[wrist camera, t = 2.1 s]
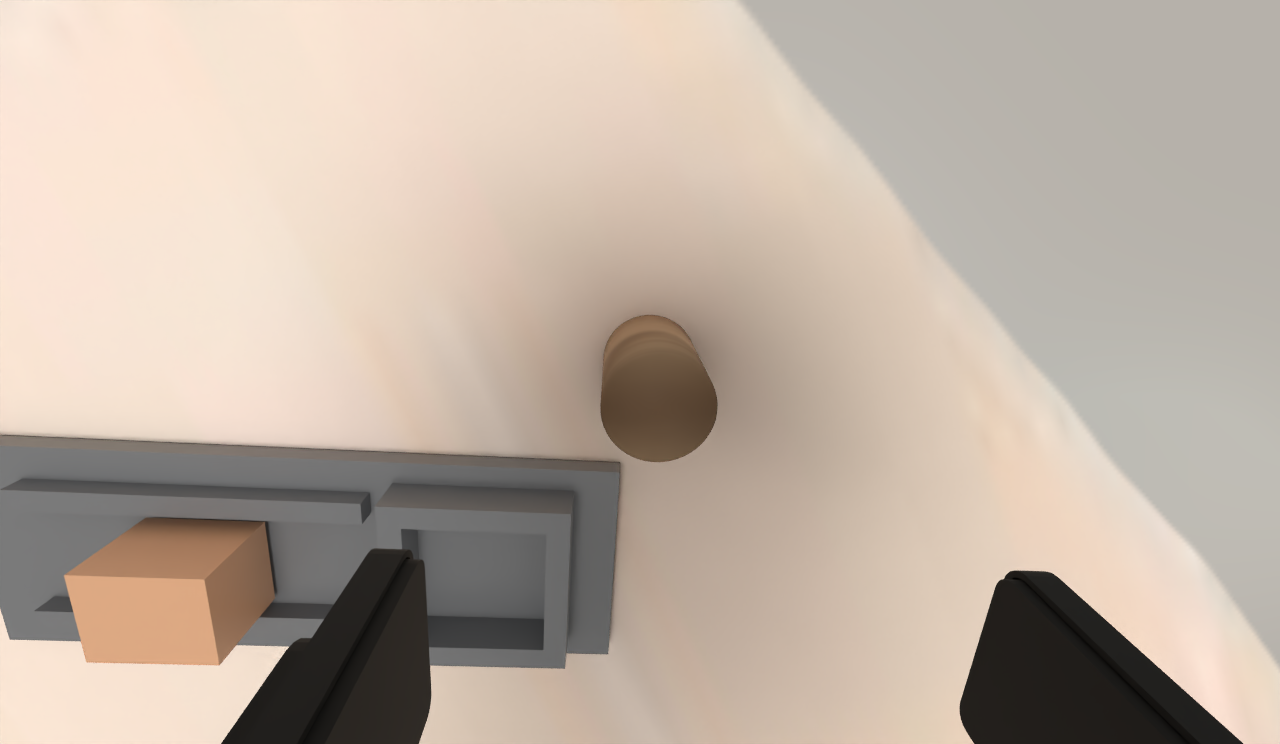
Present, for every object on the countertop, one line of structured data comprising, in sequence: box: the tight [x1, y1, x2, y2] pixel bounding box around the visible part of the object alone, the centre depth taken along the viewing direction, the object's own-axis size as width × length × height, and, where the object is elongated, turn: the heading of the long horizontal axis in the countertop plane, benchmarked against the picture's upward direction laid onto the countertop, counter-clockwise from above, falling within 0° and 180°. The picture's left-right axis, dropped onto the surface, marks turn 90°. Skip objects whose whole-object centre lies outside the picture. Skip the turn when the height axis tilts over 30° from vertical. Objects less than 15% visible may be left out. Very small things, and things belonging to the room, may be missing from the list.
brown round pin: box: [601, 315, 717, 462], centre depth 23 cm, size 4×4×6 cm
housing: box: [0, 435, 620, 669], centre depth 26 cm, size 10×28×3 cm, turn 86°
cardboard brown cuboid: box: [64, 518, 275, 665], centre depth 24 cm, size 4×5×4 cm
